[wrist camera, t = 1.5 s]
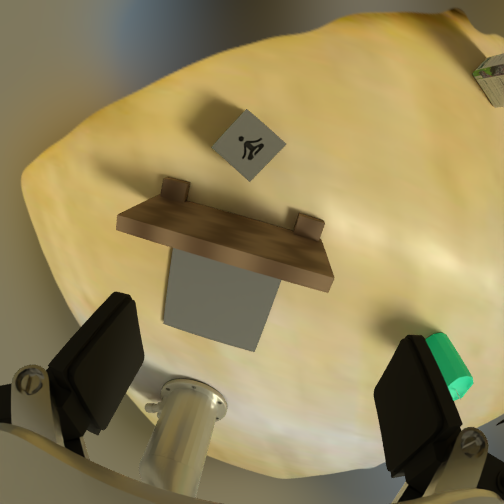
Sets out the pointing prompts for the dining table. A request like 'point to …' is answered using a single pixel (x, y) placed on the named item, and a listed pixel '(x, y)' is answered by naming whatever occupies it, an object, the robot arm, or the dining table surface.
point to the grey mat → (218, 300)
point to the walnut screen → (231, 237)
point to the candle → (450, 365)
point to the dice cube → (248, 145)
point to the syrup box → (492, 79)
